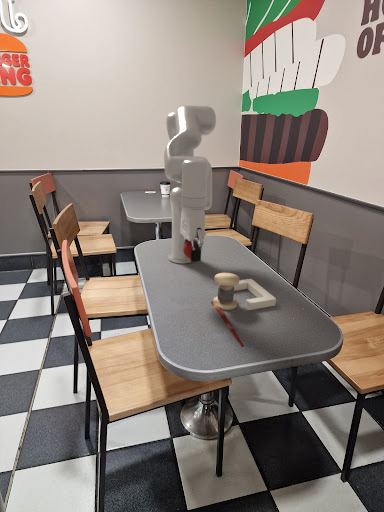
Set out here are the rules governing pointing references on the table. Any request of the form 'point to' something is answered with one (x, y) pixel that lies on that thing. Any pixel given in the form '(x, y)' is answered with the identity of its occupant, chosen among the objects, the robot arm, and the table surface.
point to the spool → (226, 291)
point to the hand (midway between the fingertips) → (192, 256)
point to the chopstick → (227, 323)
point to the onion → (188, 249)
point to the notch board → (262, 295)
